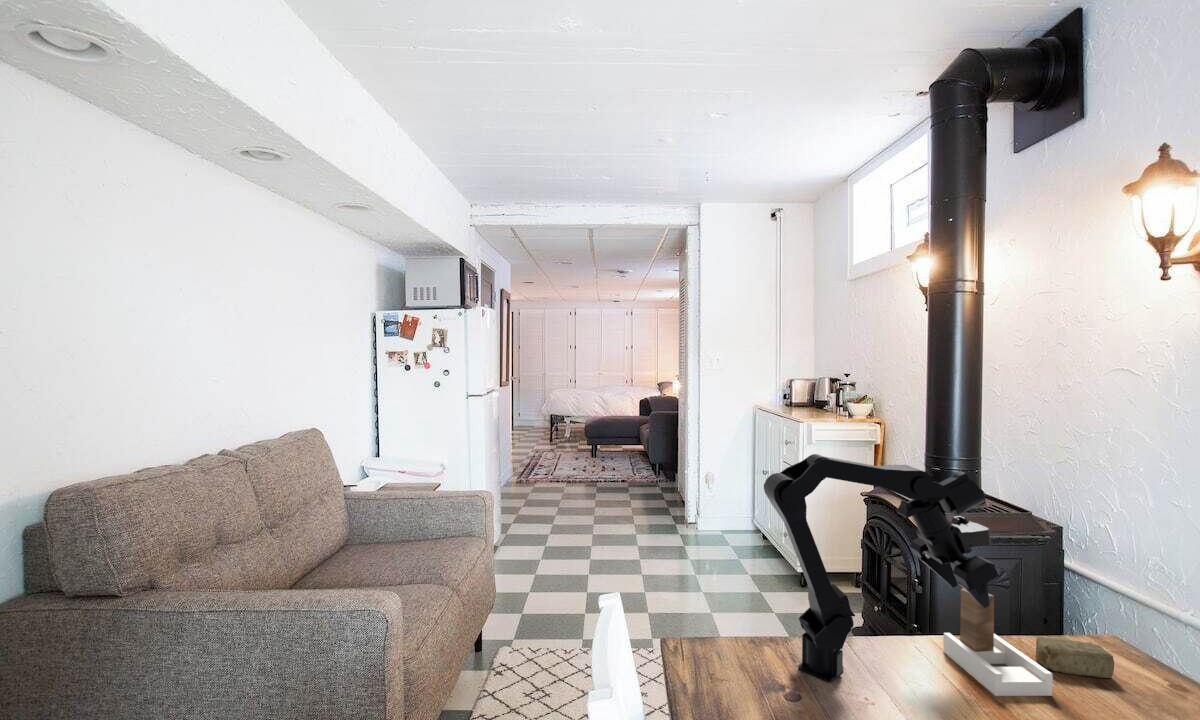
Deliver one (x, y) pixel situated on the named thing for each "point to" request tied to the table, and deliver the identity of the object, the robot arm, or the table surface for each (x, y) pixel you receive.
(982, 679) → the walled channel
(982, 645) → the walnut block
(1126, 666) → the table surface
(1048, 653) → the stone block
